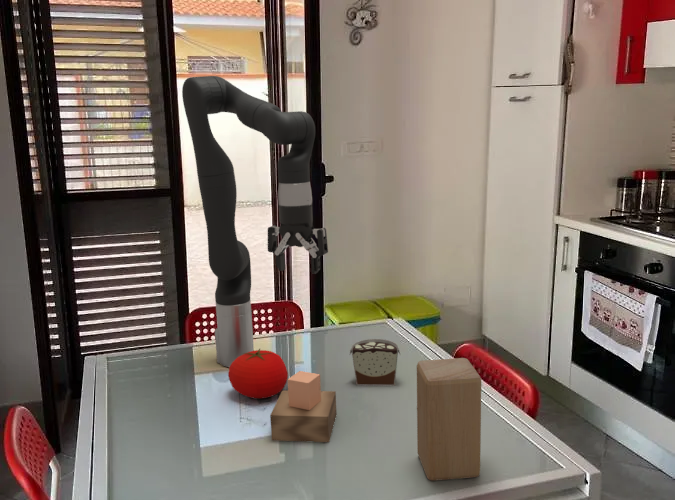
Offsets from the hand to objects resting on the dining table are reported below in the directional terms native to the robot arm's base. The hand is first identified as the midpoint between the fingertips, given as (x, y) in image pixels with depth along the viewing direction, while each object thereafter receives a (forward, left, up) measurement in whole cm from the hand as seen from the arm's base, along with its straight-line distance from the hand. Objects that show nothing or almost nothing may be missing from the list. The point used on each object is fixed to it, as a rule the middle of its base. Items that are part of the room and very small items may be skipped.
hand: (298, 271), depth 152 cm
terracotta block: (+8, -16, -24) cm, 30 cm away
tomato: (-10, -4, -30) cm, 32 cm away
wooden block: (+40, -21, -30) cm, 54 cm away
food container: (+14, +12, -30) cm, 35 cm away
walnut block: (+8, -16, -30) cm, 35 cm away
